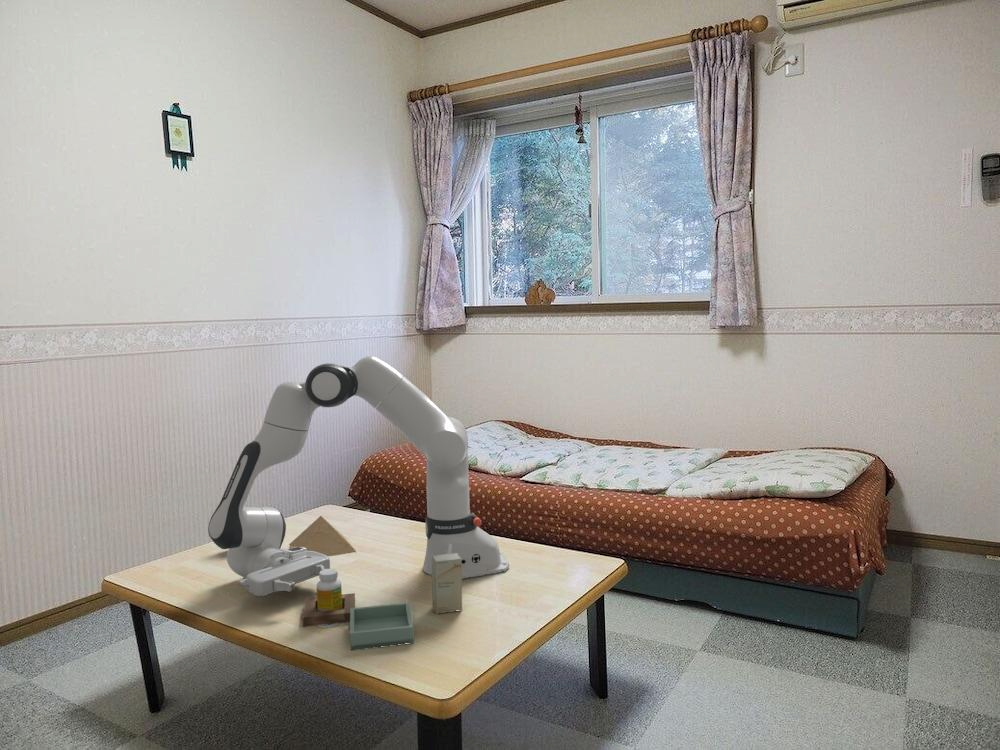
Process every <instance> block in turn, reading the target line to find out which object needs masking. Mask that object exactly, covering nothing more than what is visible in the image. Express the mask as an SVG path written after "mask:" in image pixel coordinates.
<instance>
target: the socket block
mask: <svg viewBox="0 0 1000 750" xmlns="http://www.w3.org/2000/svg"><path fill="white" fill-rule="evenodd" d="M343 607H344V608H343ZM350 608H356V594H355V592H354V593H343V594H342V610H332V611H322V612H318V611H317V610H318V605H317V596H314V597H313V596H311V597H305V603H304V609H303V614H302V625H303V626H302V627H303V628H304V627H313V626H321V625H330V624H341V623H350Z"/></svg>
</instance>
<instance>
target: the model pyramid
mask: <svg viewBox="0 0 1000 750" xmlns="http://www.w3.org/2000/svg"><path fill="white" fill-rule="evenodd" d="M347 540H348V539H347V538H346V537H345V536H344V534H343V533H341V532H340V531H339V530H338V529H336V527H334V526H333V525H332V524H331V523H330V522H329V521H328V520H327V519H325V518H324V517H323V516H322V515H320V516H319V517H318V518H316V520H314V521H313V522H312V523H311V524H310V525H308V526H307V528H305V530H303V531H302V532H301V533H300V534H299V535H298V536H297V537H295V538H294V539H293V540H292V541H291V542H290V543H289V544H288V547H289V548H288V549H290V548H297V547H305V548H306V549H307V551H315V552H318V553H321V554H324V555H326V556H329V557H333V556H339V555H347V554H353V552H354V553H357V552H356V551H357V550H356V549H355V548H354V546H353V545H352V544H351V543H350V542H349V540H348V541H347ZM346 553H347V554H346Z"/></svg>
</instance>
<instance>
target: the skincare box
mask: <svg viewBox="0 0 1000 750" xmlns="http://www.w3.org/2000/svg"><path fill="white" fill-rule="evenodd" d="M462 580H463V579H462V570H461V557H460V556H459V554H458V553H452V554H442V555H432V575H431V587H432V588H431V594H432V595H431V600H432V601H431V602H432V606H431V607H432V610H433V611H434V613H435V614H437V615H438V614H439V613H440V614H446V613H445V612H449V613H454V612H453V611H456V610H462V611H463V594H462V593H463V592H462V591H463V589H462V588H463V586H462V585H463V583H462V582H463V581H462Z"/></svg>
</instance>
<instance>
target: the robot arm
mask: <svg viewBox="0 0 1000 750" xmlns="http://www.w3.org/2000/svg"><path fill="white" fill-rule="evenodd" d="M352 397H359V398H361V399H363V400H364V401H366V402H367V403H368V404H369V405H370V406H371V407H373V408H374V409H375V410H376V411H377V412H378V413H380V414H381V415H382V416H383V417H384V418H386V419H387V421H388V422H390V423H391V424H392V425H393V426H395V427H396V428H397V429H398V430H399V431H400V432H401V433H402V434H403V436H404V437H406V439H407V440H409V442H411V444H413V446H414V447H415V448H416V449H417V450H418V451H419V452H420V453H422V455H423V456H425V457H426V459H425V461H426V462H425V463H426V465H425V466H426V511H427V514H426V515H425V535H426V538H427V539H426V549H425V556H424V561H423V566H422V570H423V572H425V573H426V574H428V575H431V576H432V555H442V554H452V553H458V554H459V556H460V557H461V570H462V580H464V579H468V578H469V577H470V578H474V577H480V576H486V575H485V574H487V575H492V574H491V573H493V574H496V573H495V572H499V573H503V572H502V571H504V572H506V571H505V570H507V569H509V568H510V563H509V560H508V557H507V556H505V554H503V553H501V552H500V548H499V544H498V542H497V540H496V539H495V538H494V537H493V536H492V535H490V534H489V533H487V532H486V531H484V530H483V529H482V528H481V526H482V523H483V522H482V520H481V518H480V517H478V515H476V514H475V513H474V512H471V511H470V510H471V509H470V508H471V507H470V505H471V504H470V479H469V477H470V476H469V475H470V474H469V456H468V455H469V452H468V451H469V439H468V432H467V429H466V428H465V426H464V424H463V423H462V422H461V421H460V420H459V419H457V418H454V417H452V416H447V414H445V413H444V412H443V411H442V410H441V409H440V408H439V407H438V406H437V405H436V404H435V403H434V402H433V401H432V400H431V399H430V398H429V397H428V395H426V394H425V393H424V392H423V391H421V390H420V389H419V388H418V387H417V386H416V385H414V384H413V382H411V381H410V380H409V379H408V378H407V377H405V376H404V375H403V374H402V373H401V372H400V371H399V370H397V369H396V368H395V367H393V366H391V365H390V364H389V363H387V362H386V361H384V360H382V359H380V358H379V357H377V356H376V355H375V356H374V355H367V356H365V357H361V358H360V359H359V360H358V361H357V362H356V363H355V364H354V365H353V366H351V367H349V366H344V365H341V364H338V363H335V362H327V363H326V362H325V363H322V364H319V365H317V366H315V367H314V368H313V369H311V370H310V371H309V373H308V375H307V376H306V379H305V381H304V382H297V381H286V382H282V383H280V384H278V385H277V387H276V388H275V390H274V391H273V394H272V396H271V399H270V401H269V403H268V405H267V409H266V412H265V414H264V415H265V416H264V419H263V423H262V426H261V428H260V430H259V432H258V434H257V435H256V437H255V438H254V439H252V441H251V442H249V443H247V444H246V445H245V446H244V448H243V450H242V451H241V454H240V455H239V456H238V460H237V462H236V464H235V466H234V469H233V470H232V471H233V472H232V474H231V475H230V479H229V481H228V482H227V486H226V487H225V491H224V492H223V495H222V498H221V500H220V502H219V503H218V505H217V507H216V508H215V510H214V512H213V513H212V515H211V517H210V520H209V523H208V527H207V528H208V529H207V530H208V536H209V537H210V539H211V541H212V543H214V544H215V545H216V546H217V548H220V549H221V550H227V552H226V562H227V565H228V567H229V568H230V570H231V571H232V572H234V573H235V574H236V575H238V576H240V577H242V578H241V580H239V585H240V586H242V587H246V590H247V591H248V592H249V593H251V594H253V595H254V596H256V597H265V596H267V595H270V594H272V593H275V592H281V591H282V592H283V591H286V592H288V593H289V592H292V591H294V590H296V586H295V585H297V584H300V583H301V582H302V583H303V582H305V581H308V580H310V579H314V578H316V577H319V572H320V571H322V570H325V569H331V560H330V556H329V557H328V556H326V555H324V554H321V553H318V552H315V551H307V549H306V548H305V547H297V548H281V547H282V545H283V543H284V540H285V537H286V533H287V532H286V531H287V523H286V521H285V520H286V519H285V518H284V515H283V514H282V512H281V511H280V510H279V509H278V508H277V507H274V506H271V507H270V506H254V507H253V506H245V504H246V502H247V499H248V497H249V494H250V492H251V489H252V488H253V485H254V483H255V480H256V478H257V477H258V476H259V475H260V474H261V473H262V472H263V471H265V470H266V469H269V468H271V467H273V466H275V465H279V464H282V463H284V462H287V461H289V460H292V459H293V458H295V457H296V456H298V455H299V454H301V452H302V450H303V448H304V446H305V444H306V441H307V439H308V438H307V436H308V433H309V430H310V425H311V421H312V417H313V415H314V414H315V411H316V410H317V409H318V408H319V407H321V408H334V407H337V406H340V405H343V404H345V402H347V400H349V399H350V398H352ZM508 567H509V568H508ZM507 571H508V570H507Z"/></svg>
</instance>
